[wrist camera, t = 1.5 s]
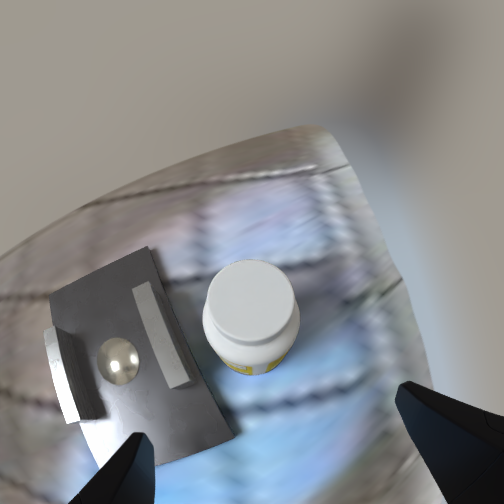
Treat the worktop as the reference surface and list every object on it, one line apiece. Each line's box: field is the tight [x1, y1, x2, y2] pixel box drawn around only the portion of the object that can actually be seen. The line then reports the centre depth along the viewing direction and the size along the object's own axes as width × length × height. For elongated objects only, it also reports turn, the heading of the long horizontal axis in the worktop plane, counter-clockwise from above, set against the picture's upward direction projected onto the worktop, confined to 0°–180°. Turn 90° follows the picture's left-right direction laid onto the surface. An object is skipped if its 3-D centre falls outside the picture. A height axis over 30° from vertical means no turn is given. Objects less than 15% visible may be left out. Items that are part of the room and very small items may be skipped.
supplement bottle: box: [203, 259, 300, 375], centre depth 16 cm, size 5×5×10 cm
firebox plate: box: [43, 246, 235, 469], centre depth 18 cm, size 18×12×3 cm, turn 28°
